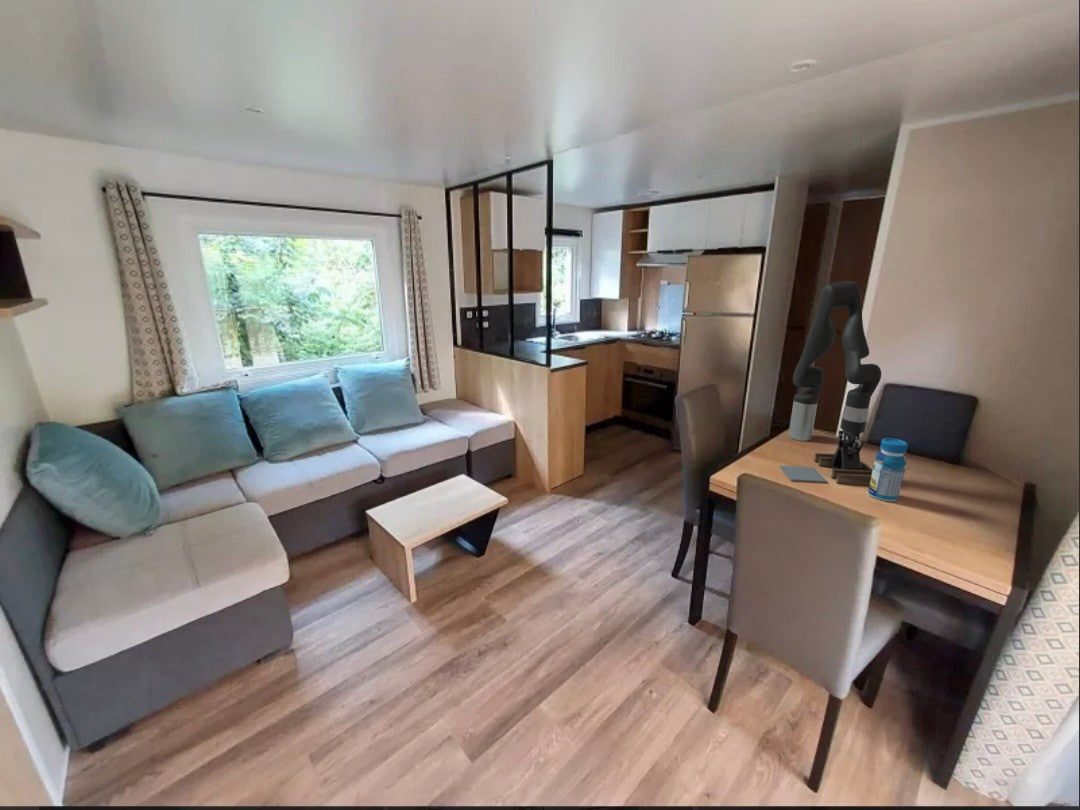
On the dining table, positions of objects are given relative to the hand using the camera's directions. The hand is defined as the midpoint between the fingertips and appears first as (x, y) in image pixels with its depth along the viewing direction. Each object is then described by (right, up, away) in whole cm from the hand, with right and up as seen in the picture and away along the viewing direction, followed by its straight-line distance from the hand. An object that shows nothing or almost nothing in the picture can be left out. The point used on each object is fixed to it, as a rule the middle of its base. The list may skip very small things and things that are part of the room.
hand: (846, 460), depth 165 cm
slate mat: (-16, -5, 0) cm, 17 cm away
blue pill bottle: (+1, -10, -16) cm, 19 cm away
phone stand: (0, -4, +1) cm, 4 cm away
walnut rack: (0, -5, +1) cm, 5 cm away
